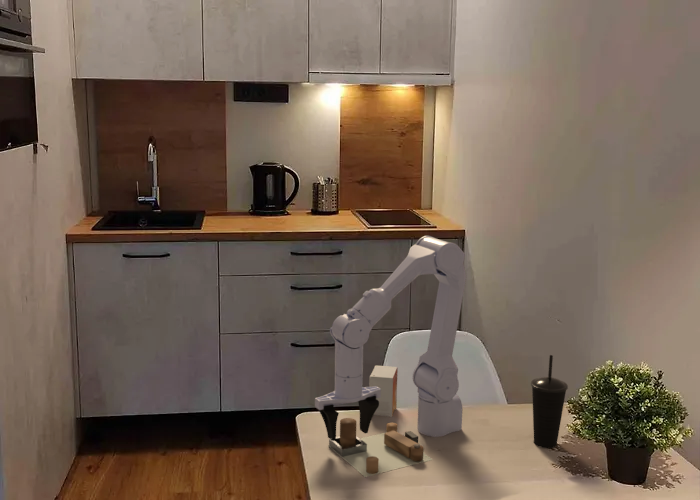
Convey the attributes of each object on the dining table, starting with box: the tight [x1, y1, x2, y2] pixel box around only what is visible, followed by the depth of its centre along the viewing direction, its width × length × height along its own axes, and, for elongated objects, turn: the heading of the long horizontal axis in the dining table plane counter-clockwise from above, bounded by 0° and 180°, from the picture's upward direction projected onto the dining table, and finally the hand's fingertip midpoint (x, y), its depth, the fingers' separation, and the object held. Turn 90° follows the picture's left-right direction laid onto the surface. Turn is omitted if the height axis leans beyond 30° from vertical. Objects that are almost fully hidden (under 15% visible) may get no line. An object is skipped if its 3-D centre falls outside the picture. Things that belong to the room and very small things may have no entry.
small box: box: [368, 365, 399, 418], centre depth 186 cm, size 8×6×10 cm
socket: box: [328, 435, 367, 458], centre depth 166 cm, size 6×6×2 cm
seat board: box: [328, 422, 434, 478], centre depth 165 cm, size 16×16×4 cm
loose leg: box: [339, 417, 357, 448], centre depth 166 cm, size 3×3×6 cm
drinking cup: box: [530, 354, 569, 449], centre depth 171 cm, size 8×8×20 cm
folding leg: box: [383, 430, 425, 461], centre depth 165 cm, size 10×3×3 cm, turn 36°
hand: (347, 435), depth 166 cm, fingers open, 7 cm apart
